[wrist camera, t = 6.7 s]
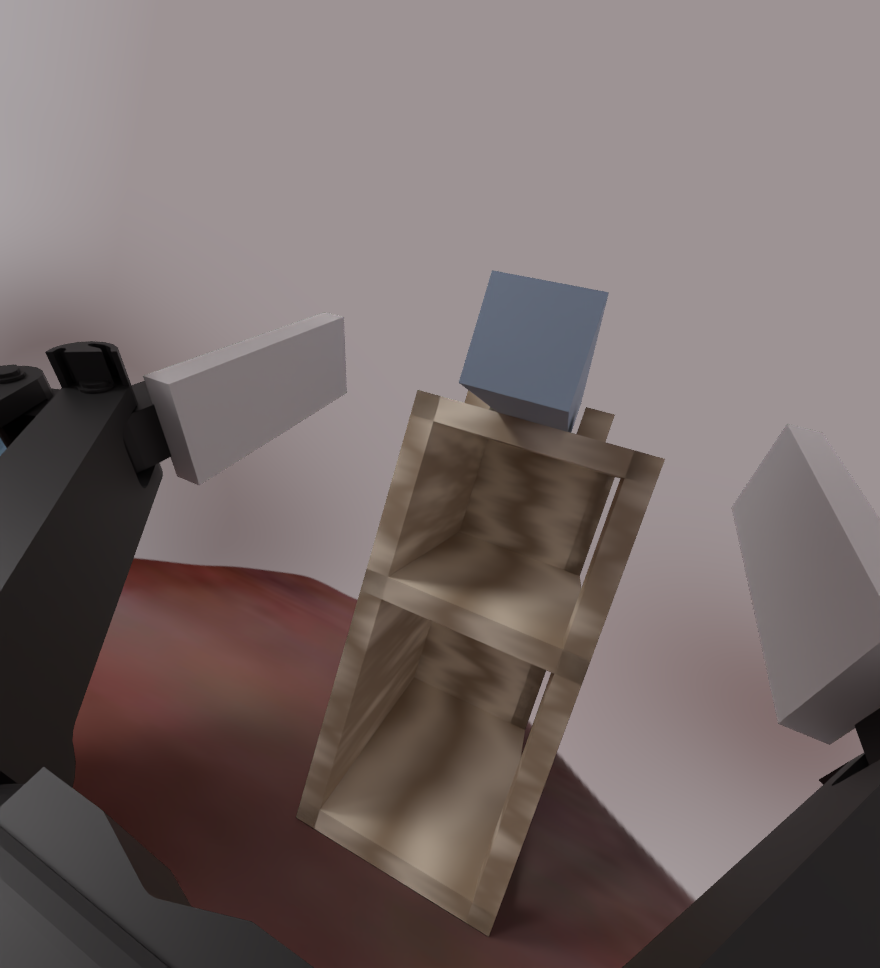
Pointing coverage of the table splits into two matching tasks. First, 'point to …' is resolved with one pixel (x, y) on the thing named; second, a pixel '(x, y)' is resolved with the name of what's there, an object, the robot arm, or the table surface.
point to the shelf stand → (471, 644)
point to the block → (534, 348)
